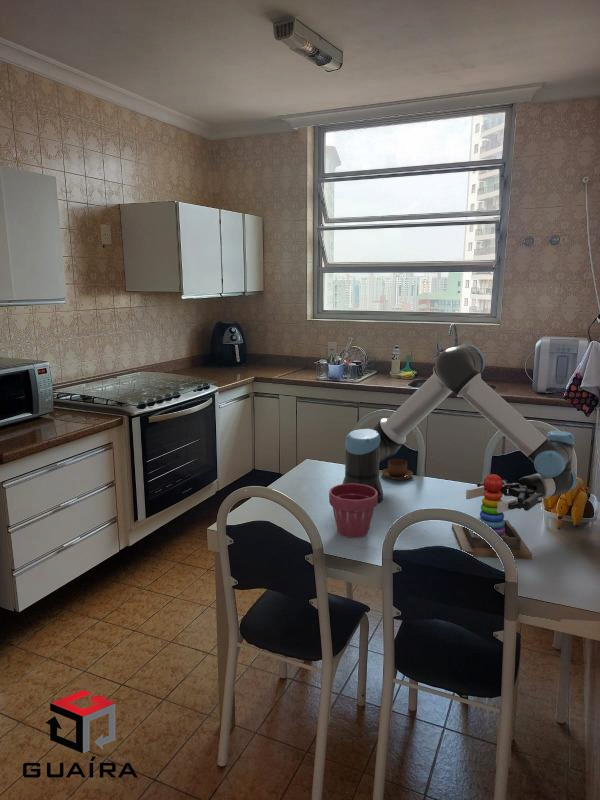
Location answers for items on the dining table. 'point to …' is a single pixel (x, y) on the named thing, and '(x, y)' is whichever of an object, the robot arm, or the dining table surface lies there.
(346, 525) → the plant pot
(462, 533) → the wooden divided tray
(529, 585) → the dining table surface
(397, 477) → the cup and saucer
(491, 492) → the stacking toy
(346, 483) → the robot arm
